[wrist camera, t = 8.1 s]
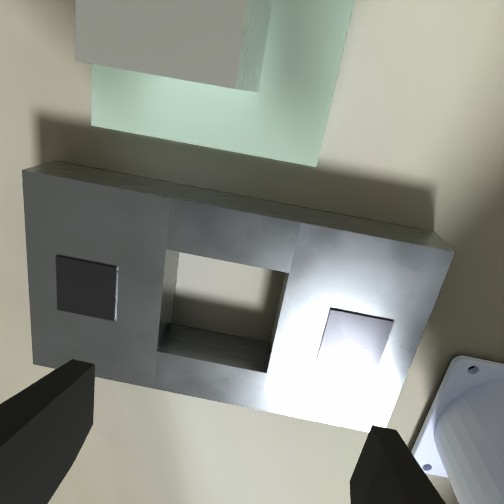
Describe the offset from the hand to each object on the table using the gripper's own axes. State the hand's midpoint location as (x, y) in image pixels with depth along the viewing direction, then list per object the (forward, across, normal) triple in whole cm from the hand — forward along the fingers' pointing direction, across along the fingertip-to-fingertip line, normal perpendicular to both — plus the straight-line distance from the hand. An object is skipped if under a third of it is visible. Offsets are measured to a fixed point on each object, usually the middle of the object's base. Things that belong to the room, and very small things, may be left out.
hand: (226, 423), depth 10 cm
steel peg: (+10, +4, -10) cm, 14 cm away
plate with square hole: (+10, +1, +2) cm, 10 cm away
